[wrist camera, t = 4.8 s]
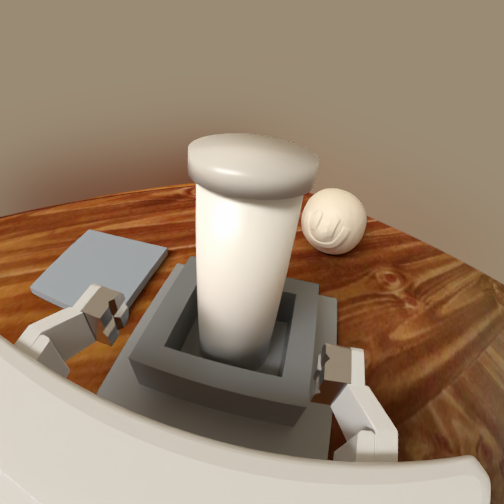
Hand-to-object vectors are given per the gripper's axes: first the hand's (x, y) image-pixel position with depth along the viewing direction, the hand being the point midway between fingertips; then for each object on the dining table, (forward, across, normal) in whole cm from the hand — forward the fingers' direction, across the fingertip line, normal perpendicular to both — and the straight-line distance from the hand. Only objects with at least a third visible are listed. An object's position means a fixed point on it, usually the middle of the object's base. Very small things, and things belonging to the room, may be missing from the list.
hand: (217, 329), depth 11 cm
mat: (+8, +14, +8) cm, 18 cm away
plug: (+4, 0, +7) cm, 9 cm away
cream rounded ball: (+20, -6, +9) cm, 23 cm away
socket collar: (+4, 0, +8) cm, 9 cm away
